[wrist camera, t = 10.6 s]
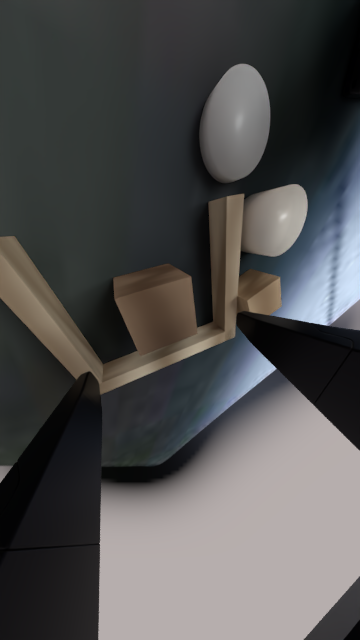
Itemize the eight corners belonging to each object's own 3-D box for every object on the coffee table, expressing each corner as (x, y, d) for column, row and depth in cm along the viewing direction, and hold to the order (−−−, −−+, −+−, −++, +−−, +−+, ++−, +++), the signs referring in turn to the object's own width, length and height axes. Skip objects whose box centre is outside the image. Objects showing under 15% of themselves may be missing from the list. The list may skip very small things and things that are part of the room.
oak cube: (249, 268, 18) (279, 277, 15) (254, 294, 20) (281, 306, 17) (222, 288, 18) (247, 300, 14) (230, 311, 20) (253, 326, 17)
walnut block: (167, 263, 14) (190, 276, 10) (176, 309, 17) (197, 333, 13) (113, 277, 13) (114, 298, 9) (132, 324, 16) (140, 356, 12)
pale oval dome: (275, 189, 14) (315, 180, 12) (267, 246, 17) (297, 249, 14) (232, 197, 13) (264, 189, 10) (230, 257, 16) (255, 262, 13)
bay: (223, 199, 13) (244, 193, 11) (222, 326, 21) (234, 336, 19) (-15, 241, 9) (-50, 244, 7) (95, 378, 17) (93, 397, 15)
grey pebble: (257, 84, 10) (276, 66, 9) (250, 180, 13) (264, 175, 12) (194, 83, 9) (206, 61, 8) (200, 187, 12) (210, 183, 11)
